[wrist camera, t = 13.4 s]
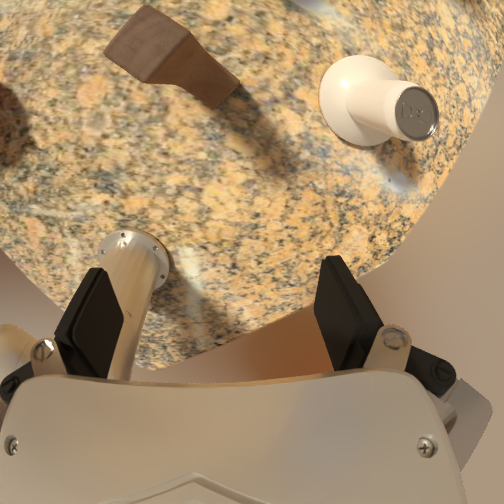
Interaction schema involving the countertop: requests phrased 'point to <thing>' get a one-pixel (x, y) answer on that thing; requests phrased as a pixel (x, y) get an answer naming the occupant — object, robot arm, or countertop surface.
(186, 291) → the countertop surface
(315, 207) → the countertop surface
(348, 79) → the white dome
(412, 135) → the can
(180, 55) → the wooden block
